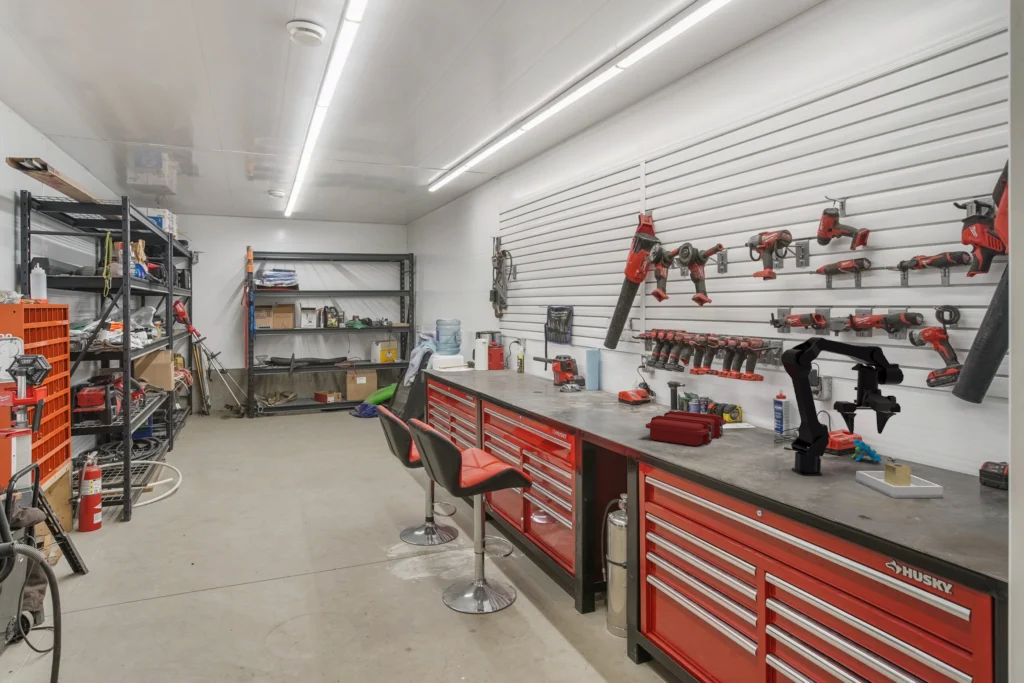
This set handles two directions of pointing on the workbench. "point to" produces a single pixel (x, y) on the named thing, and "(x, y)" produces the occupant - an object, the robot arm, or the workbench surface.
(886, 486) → the parts tray
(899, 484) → the brass block
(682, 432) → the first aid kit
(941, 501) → the workbench surface
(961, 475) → the workbench surface
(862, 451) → the blue plastic figure
